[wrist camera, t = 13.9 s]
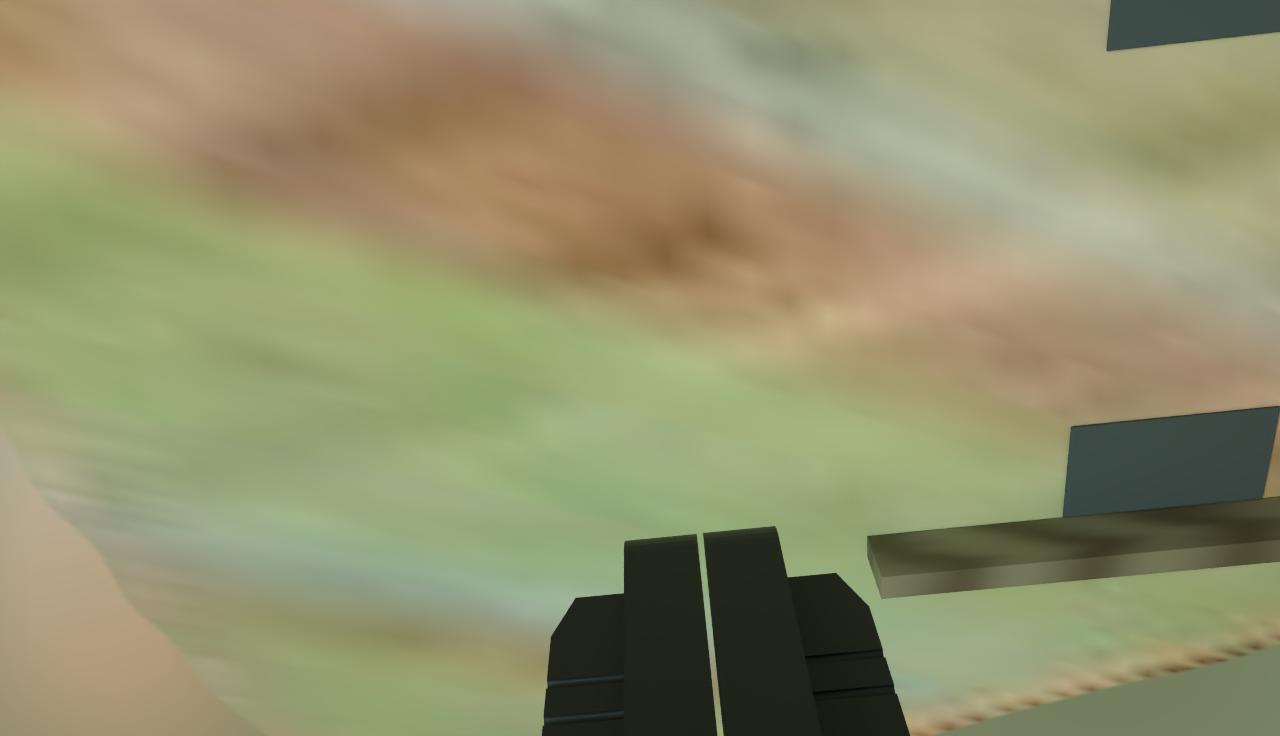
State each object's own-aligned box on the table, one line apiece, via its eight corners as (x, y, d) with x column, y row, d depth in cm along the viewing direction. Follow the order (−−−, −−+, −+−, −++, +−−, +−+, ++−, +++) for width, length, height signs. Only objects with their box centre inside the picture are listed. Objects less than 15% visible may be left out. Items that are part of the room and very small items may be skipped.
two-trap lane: (867, 557, 49) (881, 598, 46) (860, -101, 36) (879, -96, 33) (1548, 492, 48) (1603, 531, 45) (1795, -212, 35) (1892, -217, 32)
